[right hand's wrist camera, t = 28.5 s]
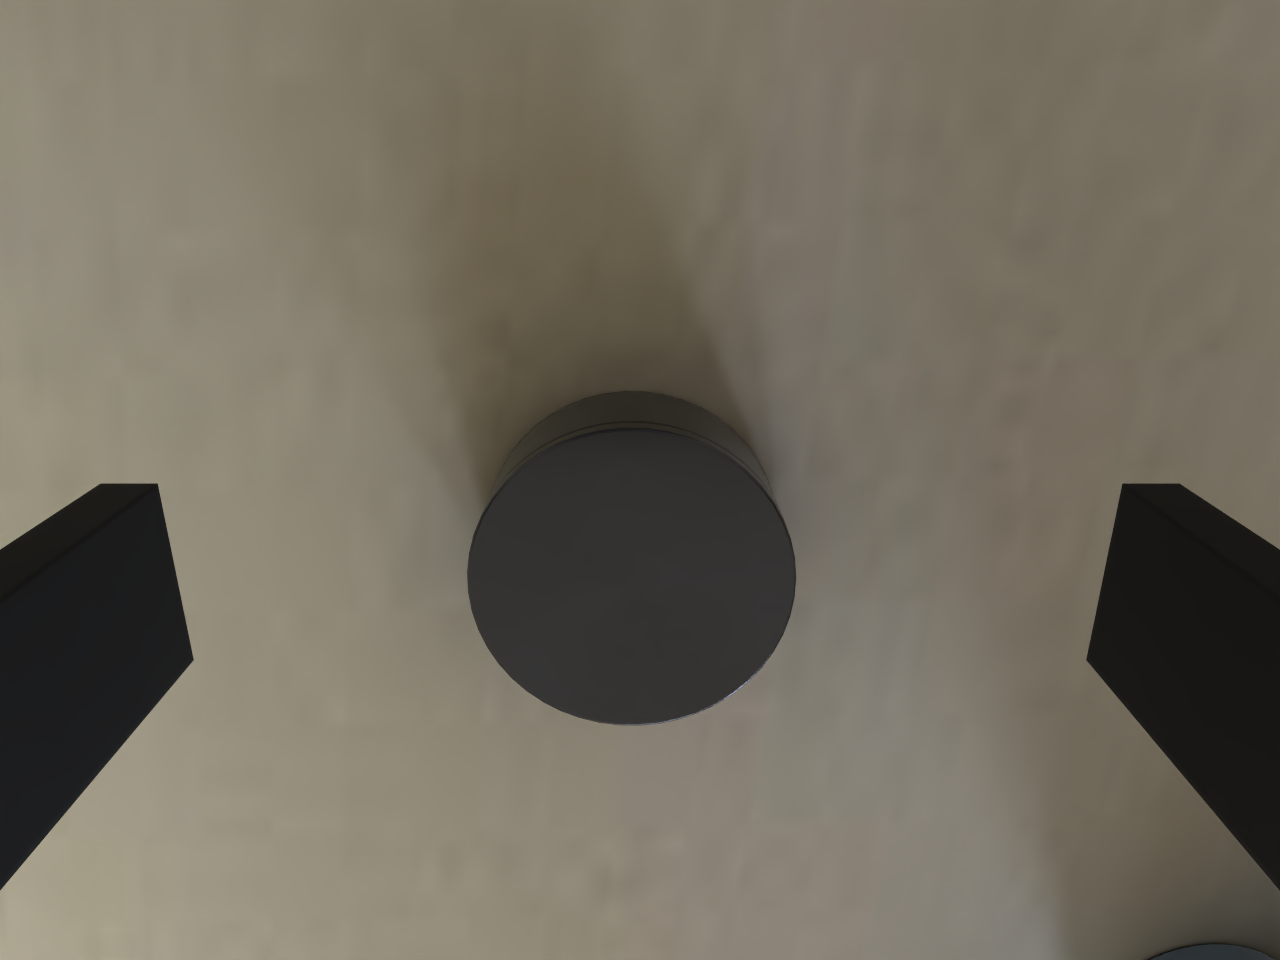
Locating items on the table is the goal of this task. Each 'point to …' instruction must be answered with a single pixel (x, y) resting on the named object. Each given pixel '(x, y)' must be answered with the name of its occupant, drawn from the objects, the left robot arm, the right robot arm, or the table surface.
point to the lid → (631, 561)
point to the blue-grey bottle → (1214, 953)
